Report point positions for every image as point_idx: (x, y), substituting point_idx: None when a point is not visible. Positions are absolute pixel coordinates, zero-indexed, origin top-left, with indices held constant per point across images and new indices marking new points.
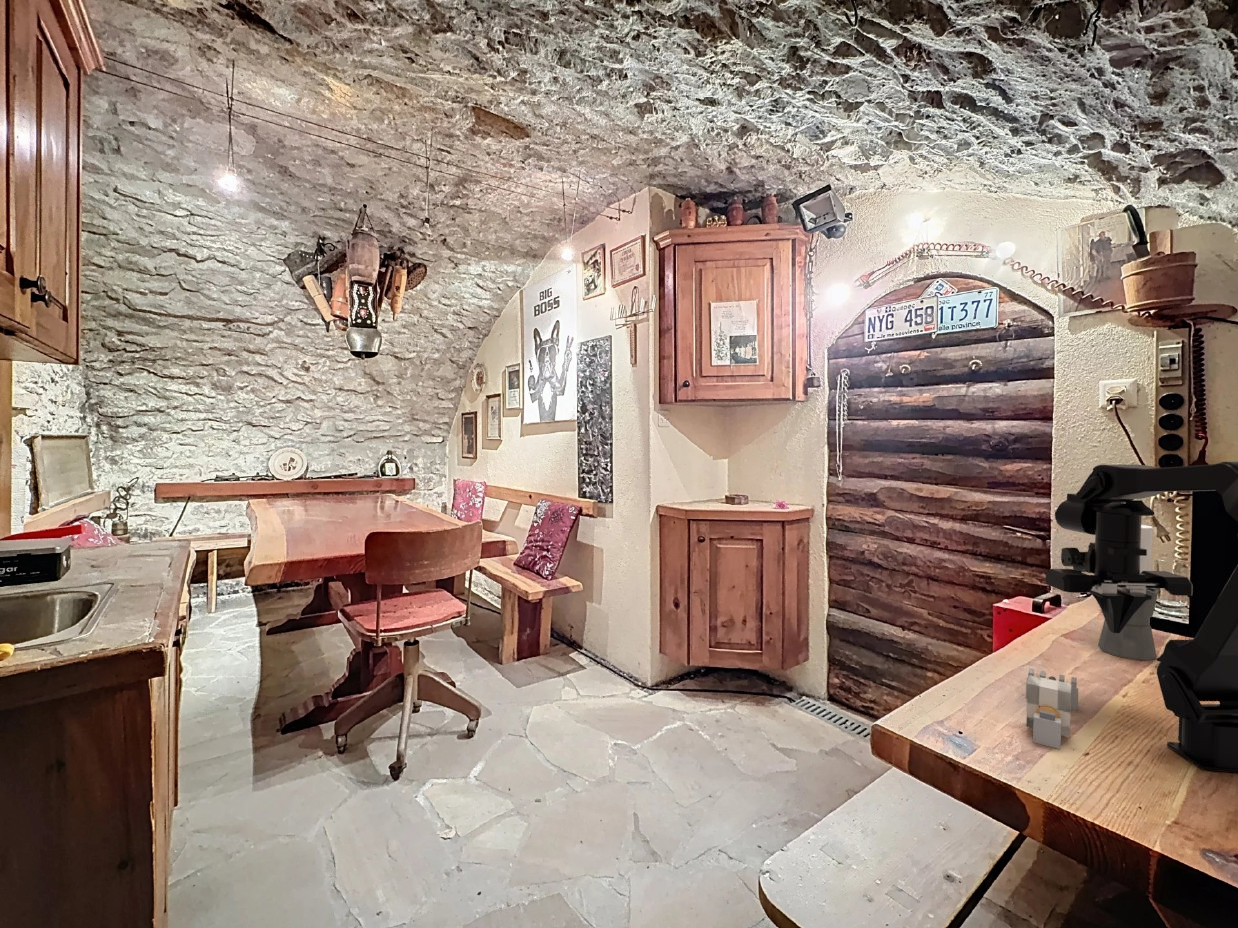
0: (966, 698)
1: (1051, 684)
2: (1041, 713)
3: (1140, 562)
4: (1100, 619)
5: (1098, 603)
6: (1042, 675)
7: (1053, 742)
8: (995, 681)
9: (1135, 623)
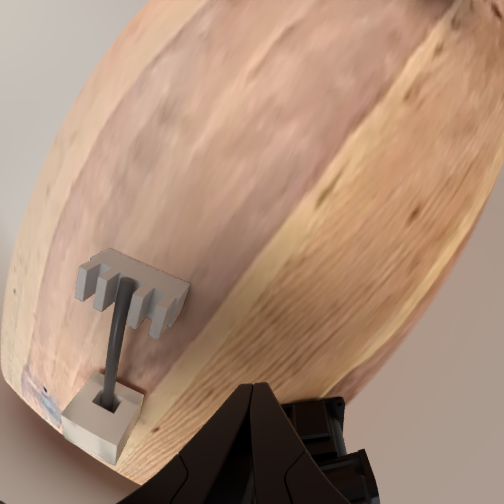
0: (34, 296)
1: (91, 444)
2: None
3: None
4: None
5: (139, 490)
6: (97, 309)
7: None
8: (70, 196)
9: None
